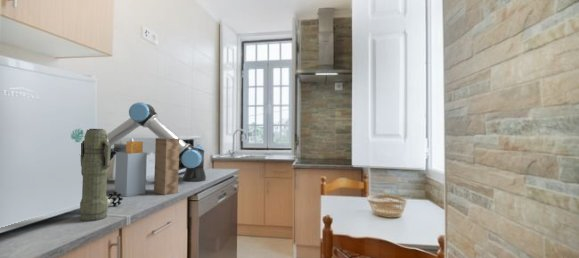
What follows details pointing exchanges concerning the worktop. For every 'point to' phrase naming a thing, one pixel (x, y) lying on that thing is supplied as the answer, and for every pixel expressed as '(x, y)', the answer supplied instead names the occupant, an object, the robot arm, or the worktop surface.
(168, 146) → the wooden upright block
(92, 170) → the thermos
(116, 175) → the grey upright pillar
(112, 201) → the valve
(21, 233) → the worktop surface
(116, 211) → the worktop surface
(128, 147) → the lockout bar
